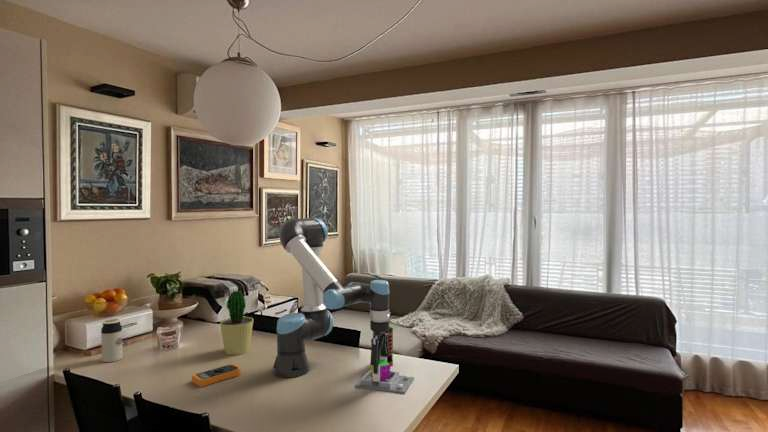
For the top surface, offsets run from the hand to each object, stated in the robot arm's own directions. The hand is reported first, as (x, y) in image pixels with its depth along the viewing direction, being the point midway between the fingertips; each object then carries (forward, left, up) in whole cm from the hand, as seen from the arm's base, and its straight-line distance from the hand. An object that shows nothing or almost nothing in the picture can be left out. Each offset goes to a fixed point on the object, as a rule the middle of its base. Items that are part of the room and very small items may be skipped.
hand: (380, 376), depth 170 cm
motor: (-5, +18, -2) cm, 19 cm away
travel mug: (-126, -13, -2) cm, 127 cm away
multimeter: (-65, -16, -3) cm, 67 cm away
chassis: (+2, 0, -2) cm, 3 cm away
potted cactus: (-78, +14, -2) cm, 79 cm away
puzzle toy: (0, 0, -1) cm, 1 cm away
